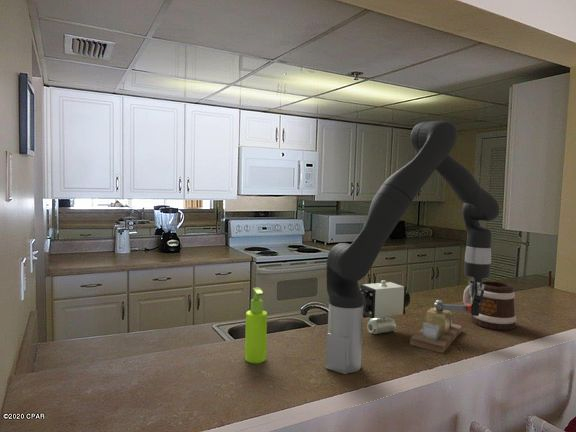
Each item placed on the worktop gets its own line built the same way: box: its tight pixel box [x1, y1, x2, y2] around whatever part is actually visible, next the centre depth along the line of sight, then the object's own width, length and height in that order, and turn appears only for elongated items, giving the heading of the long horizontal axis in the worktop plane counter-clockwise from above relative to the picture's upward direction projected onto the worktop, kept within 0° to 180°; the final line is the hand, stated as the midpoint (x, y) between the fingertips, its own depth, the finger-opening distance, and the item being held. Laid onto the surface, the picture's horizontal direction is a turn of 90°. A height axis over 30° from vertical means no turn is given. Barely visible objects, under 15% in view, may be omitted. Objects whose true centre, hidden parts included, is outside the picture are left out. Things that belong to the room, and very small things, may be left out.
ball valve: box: [359, 279, 411, 335], centre depth 137 cm, size 18×8×18 cm, turn 115°
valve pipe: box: [422, 307, 453, 341], centre depth 133 cm, size 18×6×7 cm, turn 144°
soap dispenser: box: [244, 287, 268, 364], centre depth 111 cm, size 6×7×20 cm
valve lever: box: [433, 299, 471, 314], centre depth 132 cm, size 13×3×3 cm, turn 86°
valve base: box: [409, 323, 463, 354], centre depth 133 cm, size 24×10×2 cm, turn 144°
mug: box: [462, 280, 517, 331], centre depth 150 cm, size 20×15×15 cm
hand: (474, 315), depth 128 cm, fingers closed
